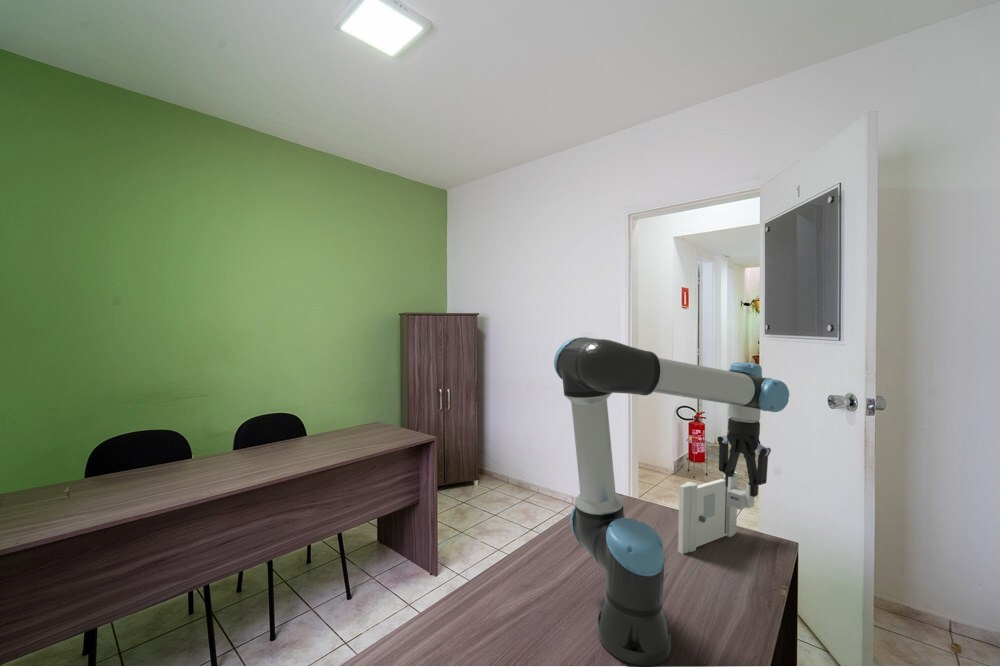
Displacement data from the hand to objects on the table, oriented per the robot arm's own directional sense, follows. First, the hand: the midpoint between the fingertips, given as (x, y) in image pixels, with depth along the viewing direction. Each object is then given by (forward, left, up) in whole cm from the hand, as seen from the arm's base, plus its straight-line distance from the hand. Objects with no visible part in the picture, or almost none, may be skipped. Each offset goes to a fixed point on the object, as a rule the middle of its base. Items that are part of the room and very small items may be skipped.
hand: (740, 503), depth 111 cm
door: (+5, +12, -18) cm, 23 cm away
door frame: (+5, +13, -19) cm, 23 cm away
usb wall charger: (0, 0, -1) cm, 1 cm away
